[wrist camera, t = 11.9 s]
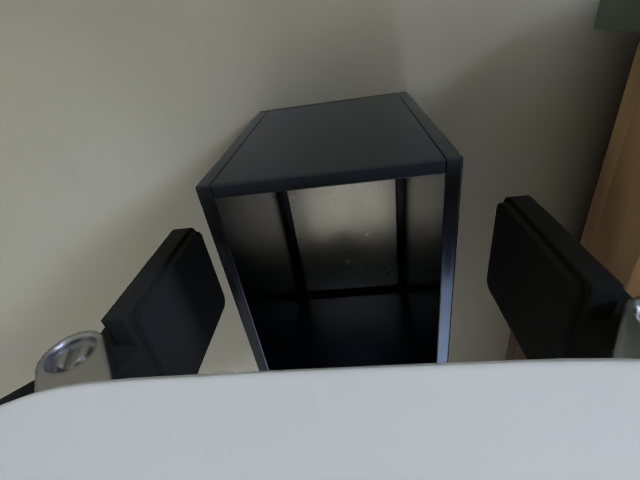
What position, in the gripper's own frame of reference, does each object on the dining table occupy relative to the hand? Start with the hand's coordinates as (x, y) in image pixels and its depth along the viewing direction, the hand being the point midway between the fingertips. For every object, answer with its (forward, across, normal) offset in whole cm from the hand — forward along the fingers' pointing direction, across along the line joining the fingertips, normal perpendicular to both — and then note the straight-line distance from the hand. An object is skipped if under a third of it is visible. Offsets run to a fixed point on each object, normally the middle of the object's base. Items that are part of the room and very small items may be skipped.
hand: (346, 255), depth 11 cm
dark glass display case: (+4, 0, 0) cm, 4 cm away
